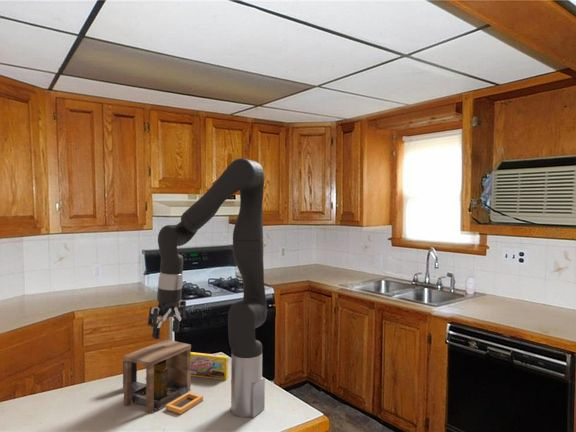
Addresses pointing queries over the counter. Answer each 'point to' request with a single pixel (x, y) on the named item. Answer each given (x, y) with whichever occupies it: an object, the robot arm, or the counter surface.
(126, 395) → the wooden side table
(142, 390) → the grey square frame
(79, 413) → the counter surface
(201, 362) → the candy box
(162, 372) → the condiment
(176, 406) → the pit trap
